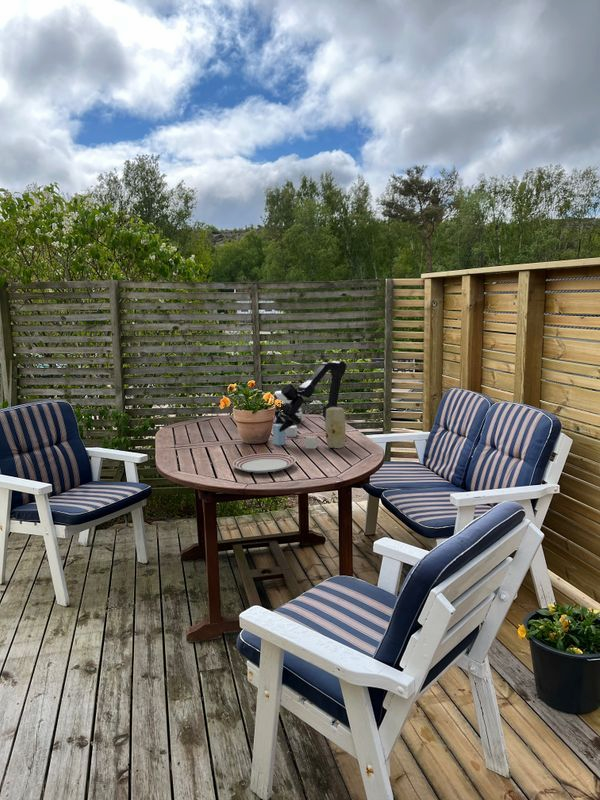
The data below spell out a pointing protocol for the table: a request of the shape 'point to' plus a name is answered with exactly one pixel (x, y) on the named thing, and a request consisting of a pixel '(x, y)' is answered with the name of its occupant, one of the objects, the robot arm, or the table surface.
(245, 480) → the table surface
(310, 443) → the cream cube
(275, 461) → the dinner plate
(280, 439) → the dusty blue block
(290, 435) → the pale grey cube
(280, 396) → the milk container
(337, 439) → the food model
